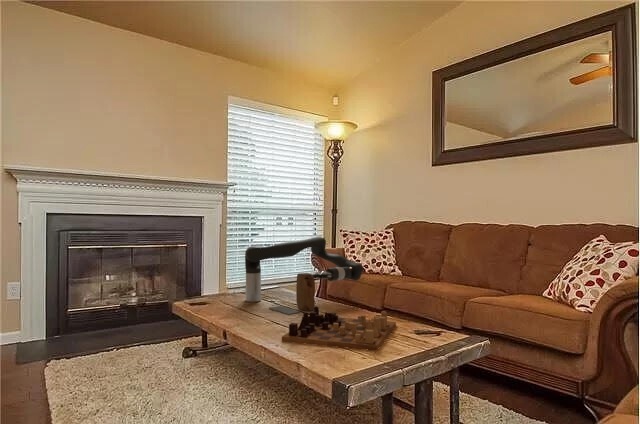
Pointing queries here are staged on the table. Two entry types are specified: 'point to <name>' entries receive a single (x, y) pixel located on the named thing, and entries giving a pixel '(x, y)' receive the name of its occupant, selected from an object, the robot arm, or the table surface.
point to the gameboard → (340, 330)
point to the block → (305, 291)
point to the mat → (284, 310)
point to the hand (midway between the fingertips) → (311, 276)
